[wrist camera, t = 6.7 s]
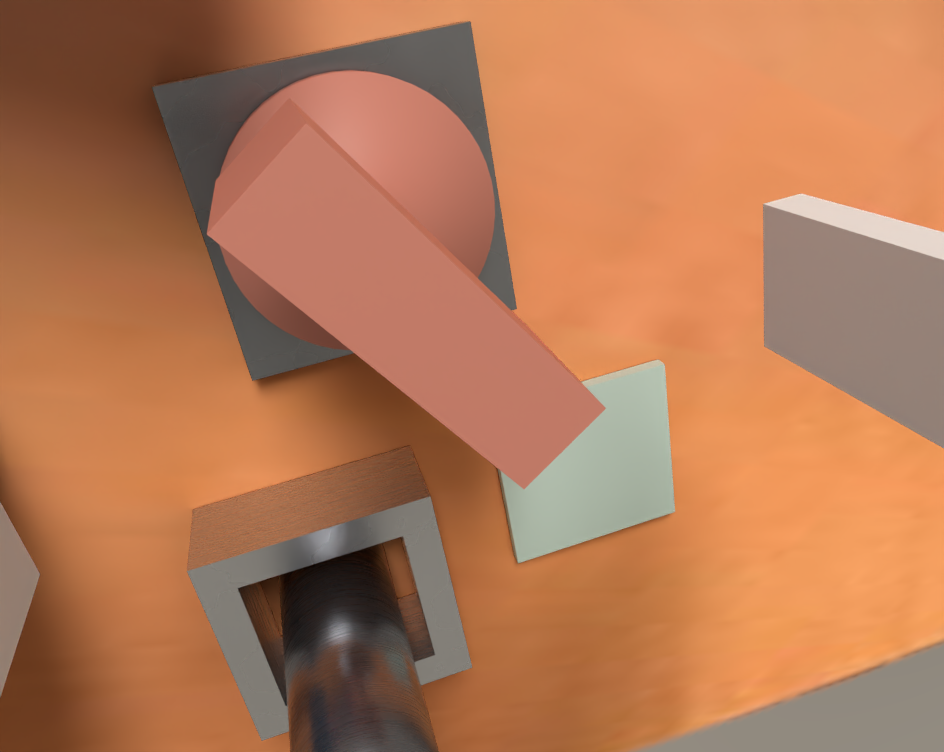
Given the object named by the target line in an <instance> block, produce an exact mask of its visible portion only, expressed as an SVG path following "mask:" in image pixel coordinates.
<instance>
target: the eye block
mask: <svg viewBox="0 0 944 752" xmlns="http://www.w3.org/2000/svg"><path fill="white" fill-rule="evenodd" d="M399 537H401V540H402V543H403V547H404V551H405V554H406V558H407V562H408V565H409V569H410V572H411V576H412V580H413V583H414V587H415V591H416V593H415V594H412V595H409V596H406V597H403V598H400V599H397V600H398V603H399V607H400V611H401V614H402V618H403V622H404V625H405V629H406V633H407V636H408V640H409V644H410V648H411V651H412V655H413V659H414V662H415V666H416V670H417V673H418V677H419V681H420V684H421V685H423V684H426V683H429V682H432V681H435V680H438V679H441V678H444V677H446V676H449V675H452V674H455V673H458V672H461V671H464V670H467V669H469V668H472V664H471V660H470V656H469V652H468V648H467V644H466V640H465V636H464V631H463V627H462V623H461V619H460V615H459V611H458V607H457V603H456V599H455V595H454V591H453V586H452V582H451V578H450V574H449V570H448V566H447V562H446V558H445V554H444V550H443V546H442V541H441V537H440V533H439V529H438V525H437V521H436V517H435V513H434V509H433V505H432V500H431V496H430V494H429V491H428V489H427V486H426V484H425V481H424V479H423V476H422V474H421V472H420V469H419V467H418V464H417V462H416V459H415V457H414V454H413V452H412V449H411V447H410V446H406V447H403V448H400V449H396V450H393V451H389V452H386V453H383V454H379V455H376V456H373V457H369V458H366V459H362V460H359V461H356V462H352V463H349V464H345V465H342V466H339V467H335V468H332V469H329V470H325V471H322V472H318V473H315V474H312V475H308V476H305V477H301V478H298V479H295V480H291V481H288V482H284V483H281V484H278V485H274V486H271V487H268V488H264V489H261V490H257V491H254V492H251V493H247V494H244V495H240V496H237V497H234V498H230V499H227V500H224V501H220V502H217V503H213V504H210V505H207V506H203V507H200V508H196V509H193V516H192V526H191V536H190V546H189V556H188V566H187V572H188V575H189V577H190V579H191V581H192V584H193V586H194V588H195V590H196V593H197V595H198V597H199V599H200V602H201V604H202V606H203V609H204V611H205V613H206V615H207V618H208V620H209V622H210V624H211V627H212V629H213V631H214V633H215V636H216V638H217V640H218V643H219V645H220V647H221V649H222V652H223V654H224V656H225V658H226V661H227V663H228V665H229V667H230V670H231V672H232V674H233V676H234V679H235V681H236V683H237V686H238V688H239V690H240V692H241V695H242V697H243V699H244V701H245V704H246V706H247V708H248V710H249V713H250V715H251V717H252V719H253V722H254V724H255V726H256V729H257V731H258V733H259V735H260V738H261V740H262V741H263V740H265V739H268V738H271V737H274V736H277V735H280V734H283V733H286V732H288V731H289V722H288V707H287V692H286V678H285V663H284V648H283V637H281V635H280V633H279V630H278V628H277V625H276V623H275V620H274V617H273V615H272V612H271V610H270V607H269V605H268V602H267V600H266V597H265V594H264V592H263V589H262V587H261V584H260V582H259V581H262V580H265V579H268V578H271V577H275V576H278V575H281V574H284V573H287V572H291V571H294V570H297V569H300V568H303V567H306V566H310V565H313V564H316V563H319V562H322V561H326V560H329V559H332V558H335V557H338V556H341V555H345V554H348V553H351V552H354V551H357V550H361V549H364V548H367V547H370V546H373V545H376V544H380V543H383V542H386V541H389V540H392V539H396V538H399Z"/></svg>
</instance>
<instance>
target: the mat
mask: <svg viewBox="0 0 944 752" xmlns="http://www.w3.org/2000/svg"><path fill="white" fill-rule="evenodd" d="M581 383H582V384H583V385H584V386H585V387H586V388H587V389H588V390H589V391H590V392H591V393H592V394H593V395H594V396H595V397H596V398H597V399H598V400H599V401H600V402H601V403H602V404H603V406H604V407H605V408H606V409H605V410H604V411H603V412H602V413H601V414H600V415H599V416H598V417H597V418H596V419H595V420H594V421H593V422H592V423H591V424H590V425H589V426H588V427H587V428H586V429H585V430H584V431H583V432H582V433H581V434H580V435H579V436H578V437H577V438H576V439H575V440H574V441H573V442H572V443H571V444H570V445H569V446H568V447H567V448H566V449H565V450H564V451H563V452H562V453H561V454H559V455H558V456H557V457H556V458H555V459H554V460H553V461H552V462H551V463H550V464H549V465H548V466H547V467H546V468H545V469H544V470H543V471H542V472H541V473H540V474H539V475H538V476H537V477H536V478H535V479H534V480H533V481H532V482H531V483H530V484H529V485H528V486H527V487H526V488H525V489H523V488H522V487H520V486H519V485H518V484H517V483H515V482H514V481H513V480H512V479H510V478H509V477H508V476H507V475H505V474H504V473H503V472H502V471H500V470H499V469H498V474H499V479H500V484H501V489H502V494H503V500H504V505H505V510H506V515H507V520H508V526H509V531H510V536H511V541H512V546H513V551H514V556H515V558H516V560H517V562H518V563H521V562H524V561H527V560H530V559H533V558H536V557H539V556H542V555H545V554H548V553H551V552H554V551H557V550H560V549H563V548H566V547H569V546H572V545H576V544H579V543H582V542H585V541H588V540H591V539H594V538H597V537H600V536H603V535H606V534H609V533H612V532H615V531H618V530H621V529H624V528H627V527H630V526H633V525H636V524H639V523H643V522H646V521H649V520H652V519H655V518H658V517H661V516H664V515H667V514H670V513H673V512H675V505H674V490H673V476H672V462H671V448H670V434H669V419H668V405H667V391H666V377H665V364H664V363H662V362H661V361H660V360H659V359H658V360H654V361H651V362H647V363H644V364H640V365H637V366H634V367H630V368H627V369H623V370H620V371H617V372H613V373H610V374H606V375H603V376H599V377H596V378H593V379H589V380H586V381H582V382H581Z"/></svg>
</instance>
